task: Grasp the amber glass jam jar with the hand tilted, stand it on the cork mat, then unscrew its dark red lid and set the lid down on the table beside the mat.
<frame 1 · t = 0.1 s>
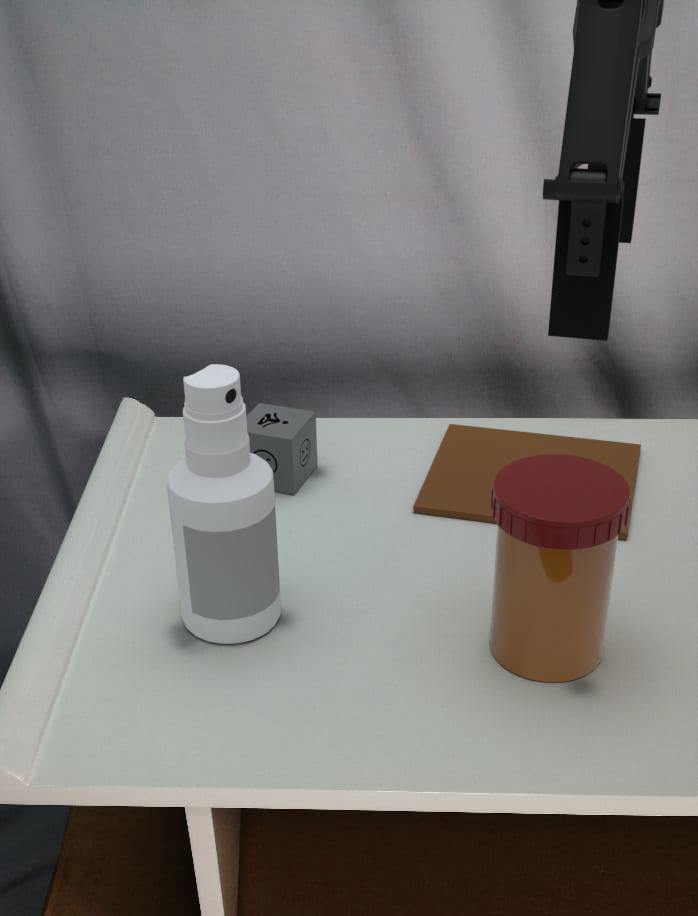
hand: (593, 284, 60), 26 cm above the table, tool pointing down, fingers open, 13 cm apart
mat: (530, 480, 94), on the table
jar: (545, 646, 76), on the table
lid: (560, 492, 70), point 12 cm above the table, screwed on, not yet turned
spray bottle: (232, 617, 81), on the table
gray cube: (278, 477, 96), on the table
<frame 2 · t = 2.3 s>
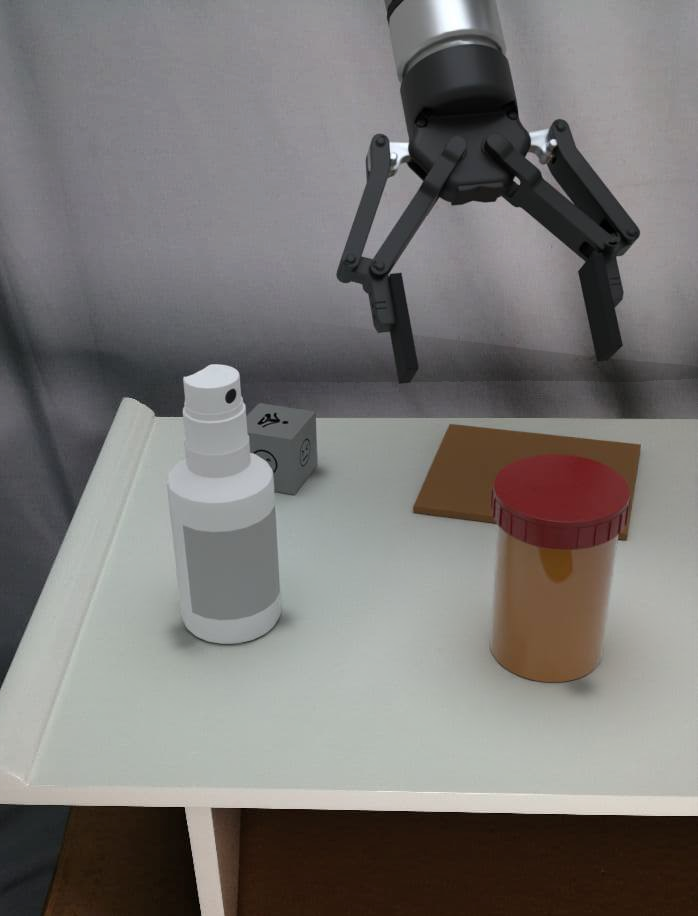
hand: (510, 365, 76), 15 cm above the table, tool tilted 45°, fingers open, 13 cm apart
nothing on the table moved.
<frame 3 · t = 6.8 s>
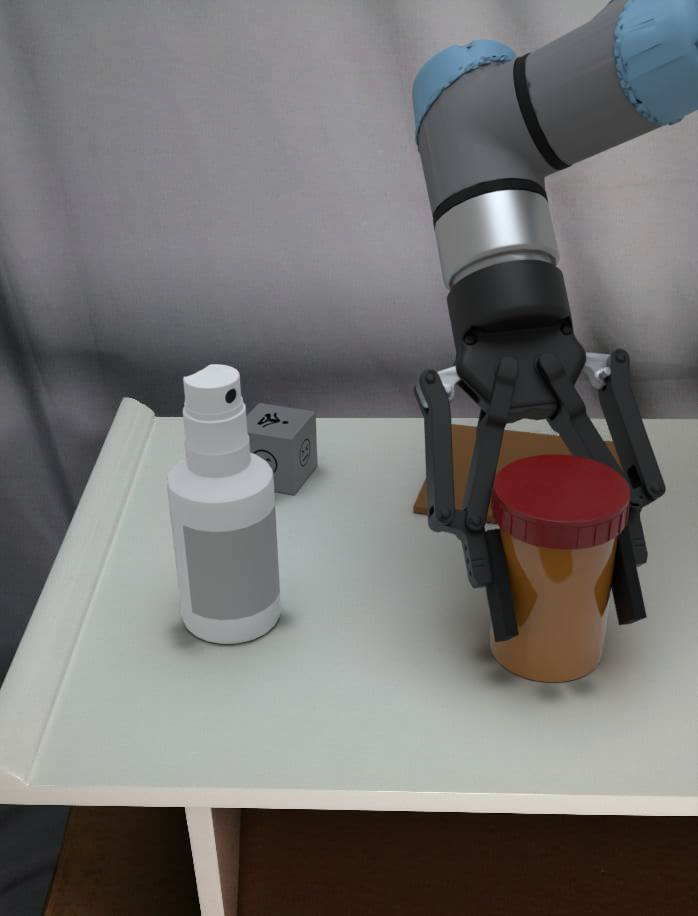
hand: (570, 629, 71), 4 cm above the table, tool tilted 45°, fingers closed on jar, 7 cm apart
jar: (545, 646, 76), on the table, touching gripper
everything else where it was.
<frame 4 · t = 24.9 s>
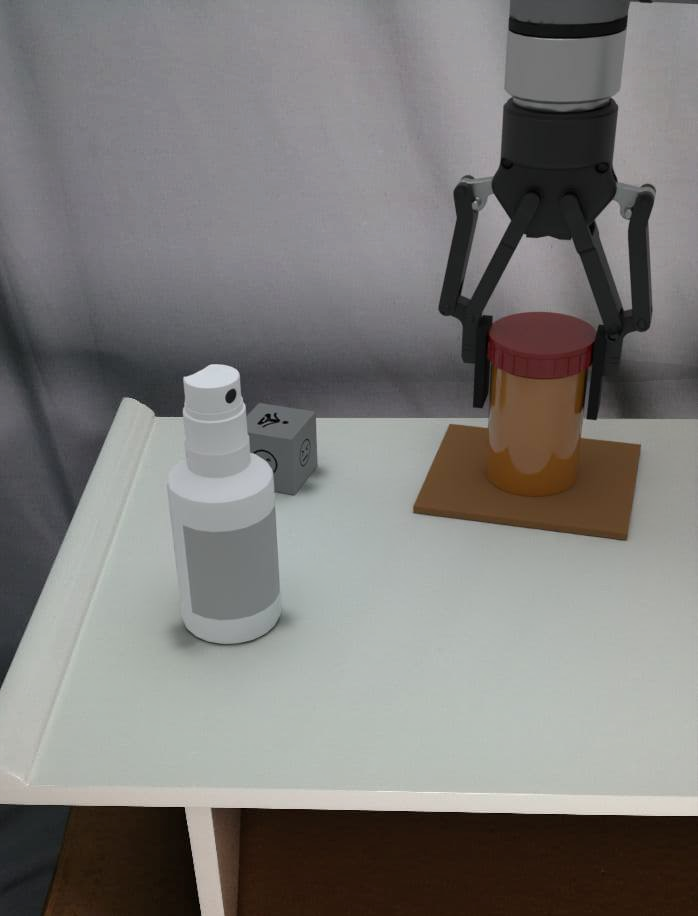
hand: (536, 405, 90), 7 cm above the table, tool pointing down, fingers closed on lid, 8 cm apart
jar: (530, 473, 94), point 1 cm above the table, touching mat
lid: (541, 337, 87), point 12 cm above the table, screwed on, not yet turned, touching gripper
everything else where it was.
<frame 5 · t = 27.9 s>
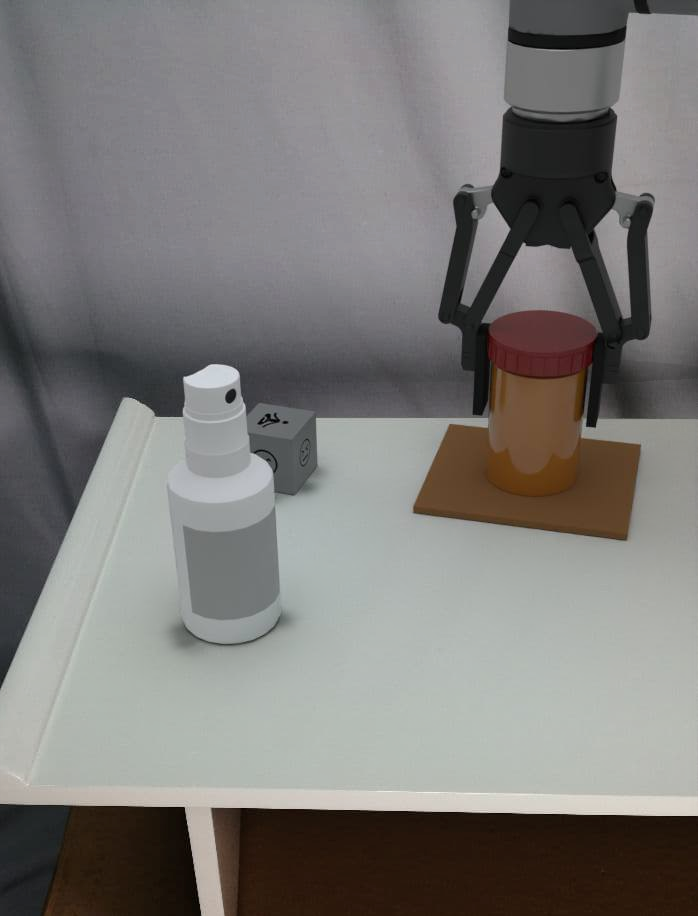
hand: (535, 413, 91), 6 cm above the table, tool pointing down, fingers closed on lid, 8 cm apart
lid: (542, 335, 87), point 12 cm above the table, turned 94° so far, risen 0.1 cm, still on its thread, touching gripper
everything else where it was.
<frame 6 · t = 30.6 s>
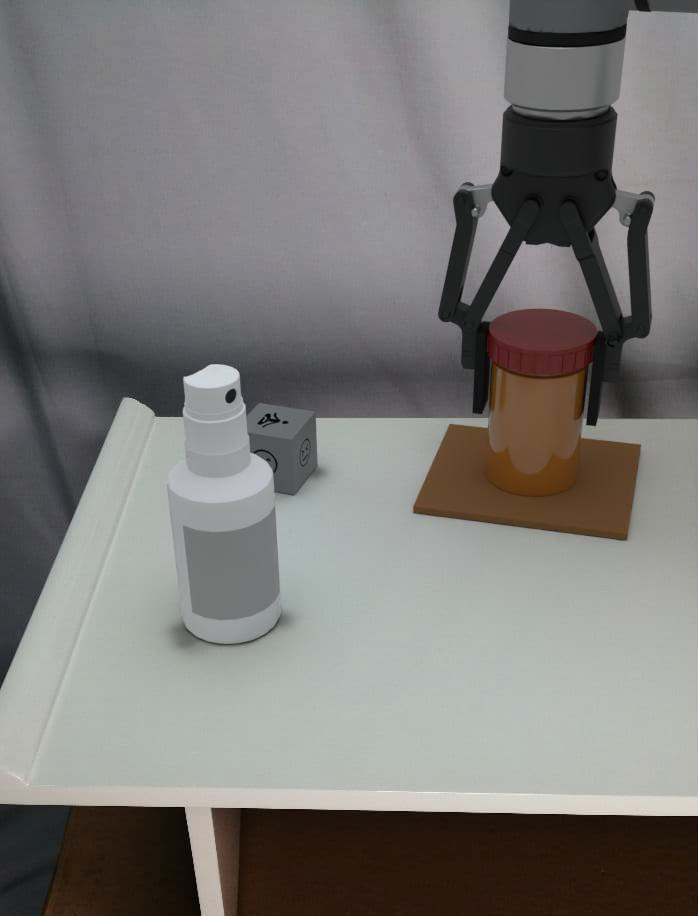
hand: (535, 411, 91), 6 cm above the table, tool pointing down, fingers closed on lid, 8 cm apart
lid: (542, 333, 87), point 13 cm above the table, turned 188° so far, risen 0.3 cm, still on its thread, touching gripper
everything else where it was.
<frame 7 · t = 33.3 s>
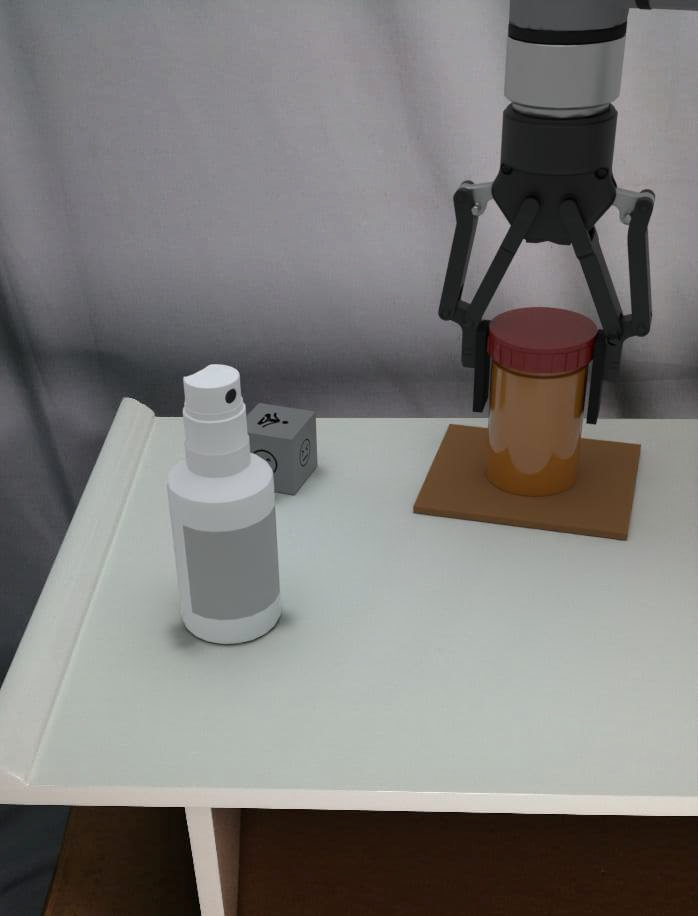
hand: (536, 410, 91), 6 cm above the table, tool pointing down, fingers closed on lid, 8 cm apart
lid: (542, 332, 87), point 13 cm above the table, turned 282° so far, risen 0.4 cm, still on its thread, touching gripper
everything else where it was.
when the fingers open (2 cm above the table, at t = 40.4 s): lid drops 7 cm, point 1 cm above the table.
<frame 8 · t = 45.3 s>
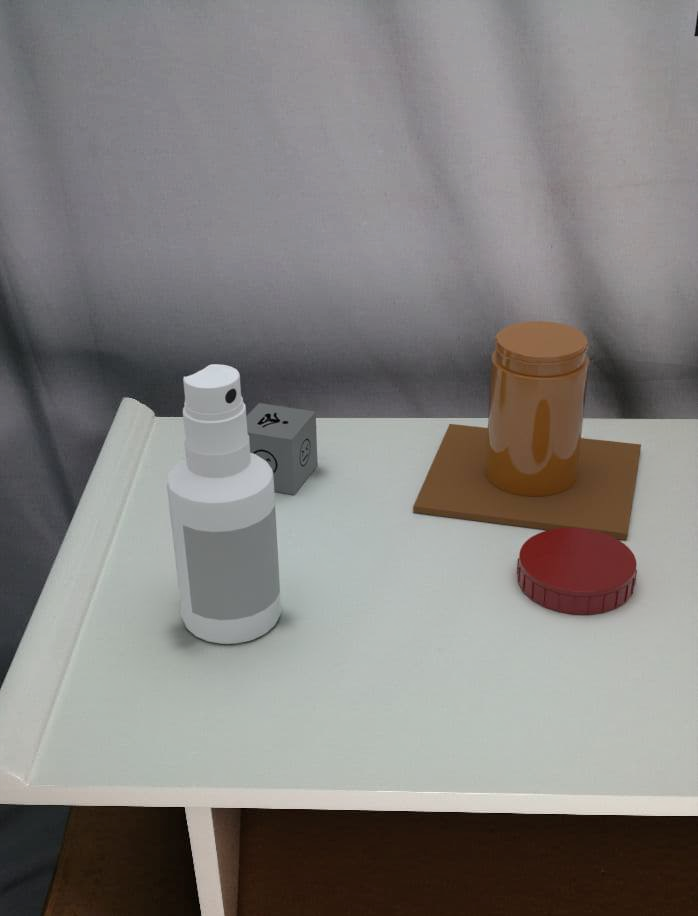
lid: (576, 563, 81), point 1 cm above the table, off its thread
everything else where it was.
at the end: jar inside the target area on the mat (0.1 cm from its centre), point 0.6 cm above the mat's base; lid came off its thread; lid point 1.5 cm above the table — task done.
